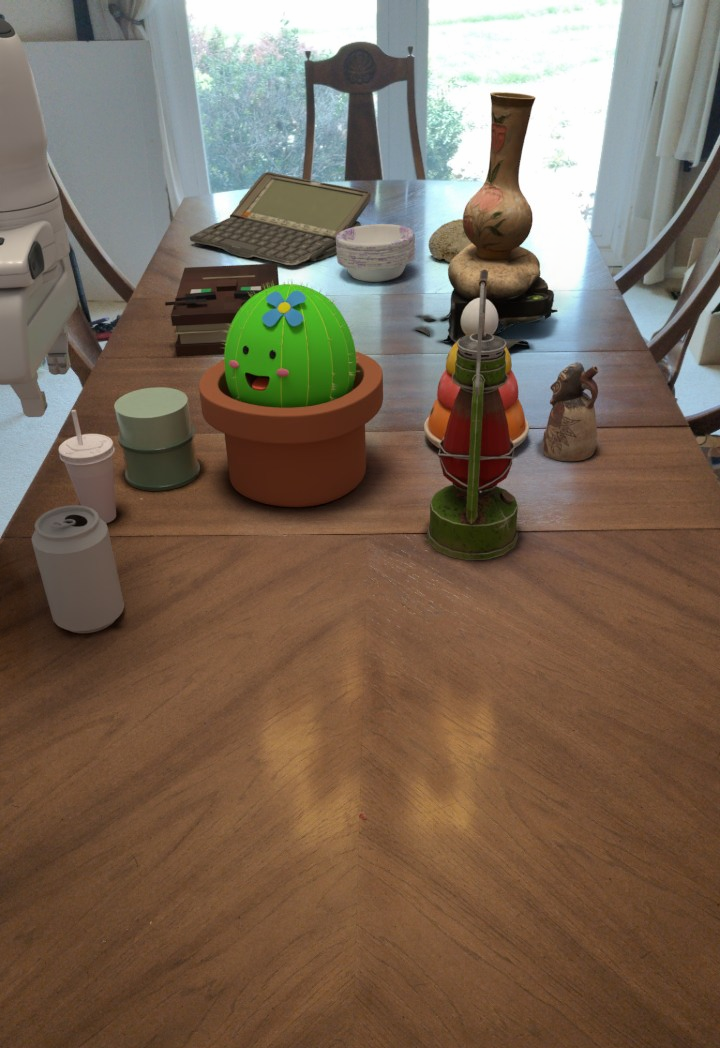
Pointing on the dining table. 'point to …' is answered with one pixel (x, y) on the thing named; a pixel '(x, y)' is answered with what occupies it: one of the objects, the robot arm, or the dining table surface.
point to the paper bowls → (375, 251)
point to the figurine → (572, 415)
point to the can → (78, 568)
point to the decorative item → (448, 240)
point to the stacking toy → (449, 390)
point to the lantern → (476, 454)
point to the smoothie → (91, 470)
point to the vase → (500, 232)
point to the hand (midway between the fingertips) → (49, 392)
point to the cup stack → (157, 438)
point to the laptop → (287, 220)
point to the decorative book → (214, 303)
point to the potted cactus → (292, 399)
